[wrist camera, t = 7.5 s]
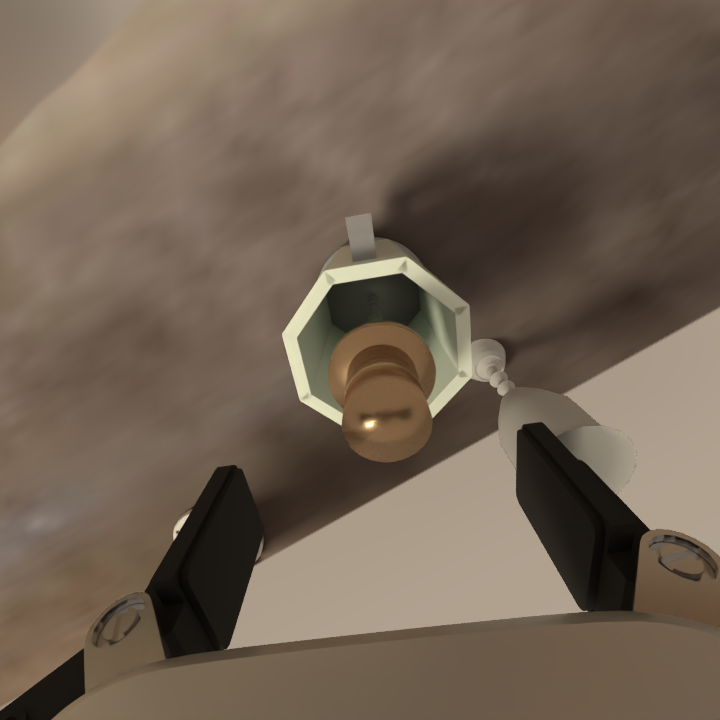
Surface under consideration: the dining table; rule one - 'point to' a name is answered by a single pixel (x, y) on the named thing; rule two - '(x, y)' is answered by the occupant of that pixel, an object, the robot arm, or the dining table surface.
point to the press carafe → (398, 304)
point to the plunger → (383, 387)
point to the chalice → (553, 420)
